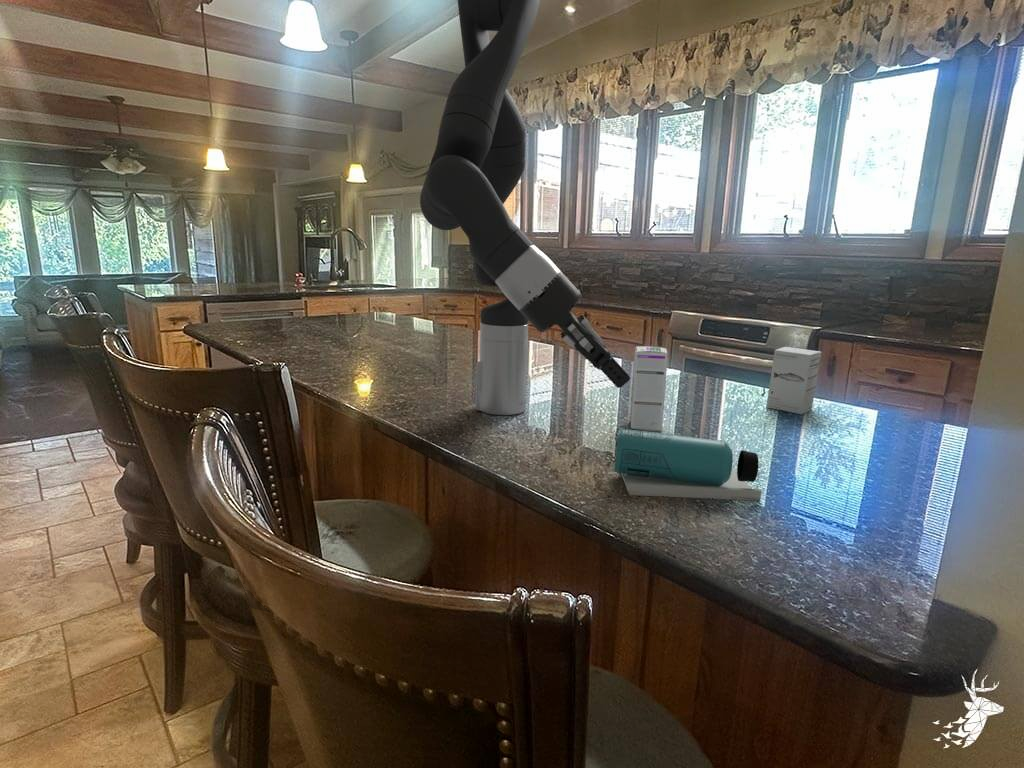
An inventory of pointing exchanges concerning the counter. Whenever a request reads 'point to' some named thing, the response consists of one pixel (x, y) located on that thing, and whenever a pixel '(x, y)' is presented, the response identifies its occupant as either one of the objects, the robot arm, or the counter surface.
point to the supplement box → (793, 379)
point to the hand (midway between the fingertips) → (624, 382)
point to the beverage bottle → (680, 458)
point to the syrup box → (649, 388)
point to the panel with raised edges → (691, 488)
